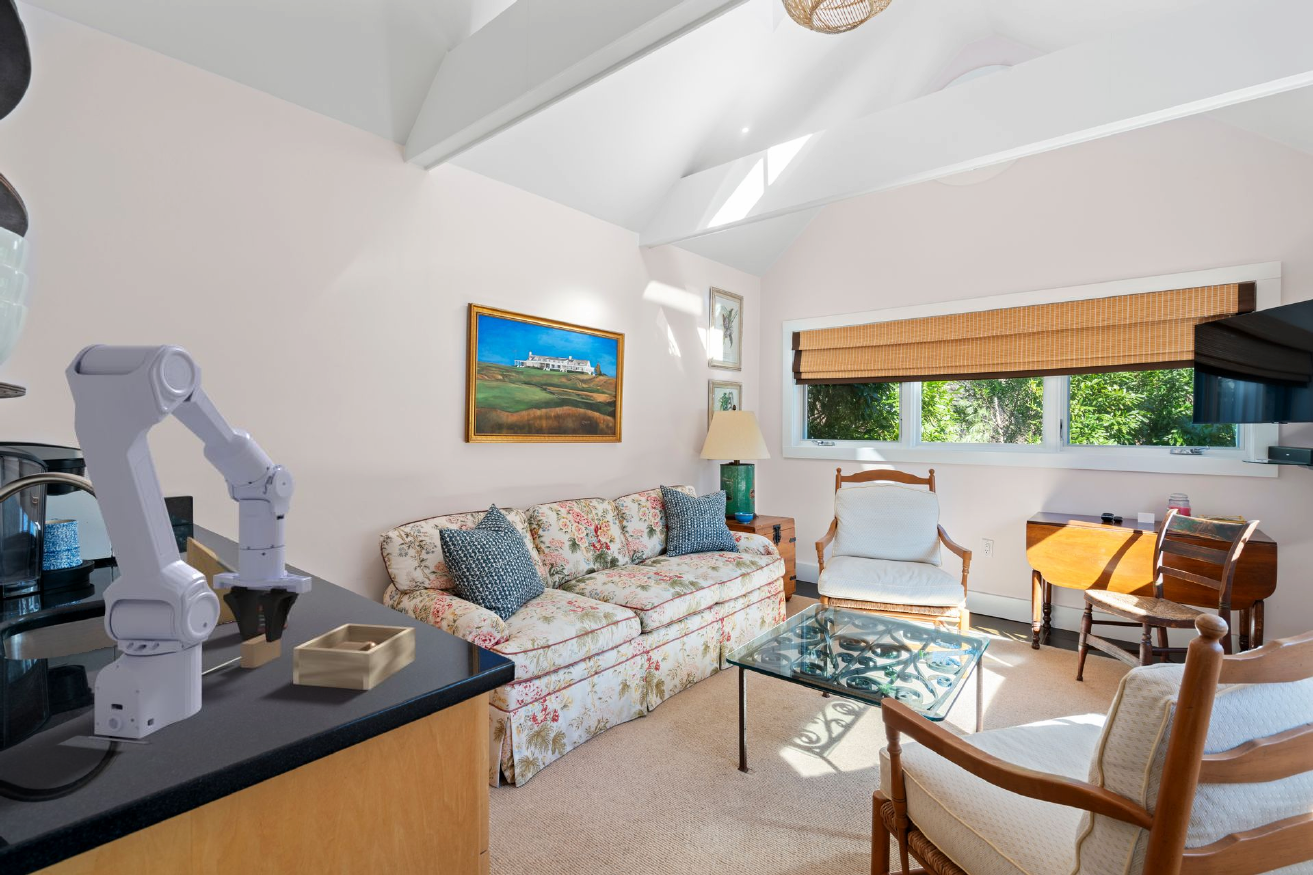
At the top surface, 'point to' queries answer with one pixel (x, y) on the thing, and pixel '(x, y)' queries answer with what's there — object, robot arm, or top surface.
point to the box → (353, 656)
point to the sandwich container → (211, 572)
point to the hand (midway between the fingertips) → (261, 639)
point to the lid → (257, 652)
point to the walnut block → (353, 646)
